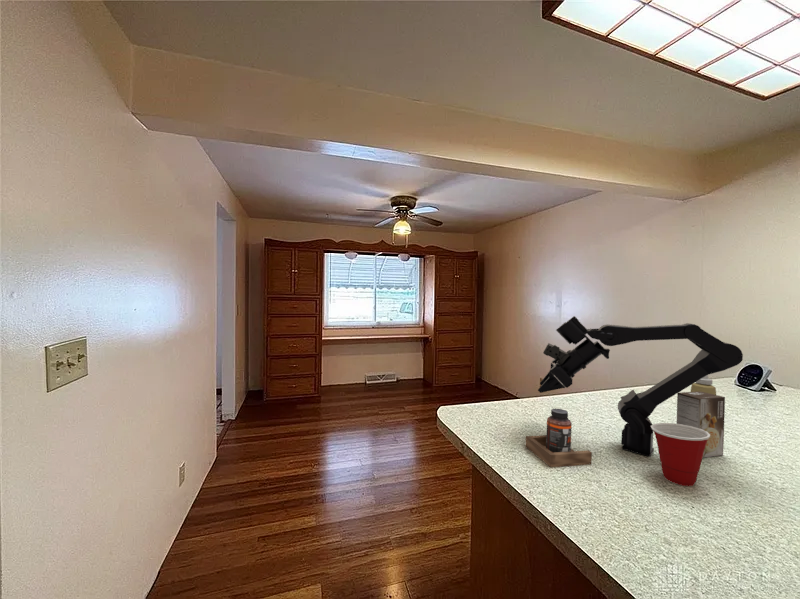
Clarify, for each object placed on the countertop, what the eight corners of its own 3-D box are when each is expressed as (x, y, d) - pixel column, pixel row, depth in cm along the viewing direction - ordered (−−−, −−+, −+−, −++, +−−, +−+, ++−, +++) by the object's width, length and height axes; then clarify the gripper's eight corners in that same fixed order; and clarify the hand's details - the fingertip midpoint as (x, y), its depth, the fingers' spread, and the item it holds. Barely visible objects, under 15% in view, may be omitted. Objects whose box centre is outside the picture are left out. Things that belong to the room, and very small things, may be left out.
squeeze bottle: (723, 423, 120) (726, 371, 120) (700, 422, 120) (702, 370, 120) (703, 415, 128) (705, 366, 128) (681, 414, 128) (683, 366, 128)
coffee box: (698, 445, 100) (700, 390, 100) (724, 455, 94) (726, 397, 94) (674, 448, 98) (676, 392, 98) (699, 458, 92) (701, 398, 92)
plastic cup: (650, 463, 88) (652, 416, 88) (706, 478, 81) (709, 428, 81) (647, 480, 80) (649, 428, 80) (709, 498, 73) (712, 442, 73)
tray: (562, 444, 98) (562, 434, 98) (591, 464, 87) (591, 452, 87) (525, 446, 96) (525, 436, 96) (550, 467, 85) (551, 455, 85)
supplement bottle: (572, 460, 87) (574, 415, 87) (547, 456, 89) (548, 412, 89) (568, 450, 93) (569, 408, 93) (544, 446, 95) (545, 405, 95)
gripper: (560, 332, 113) (524, 362, 118) (560, 338, 96) (517, 373, 101) (587, 359, 110) (548, 388, 115) (591, 370, 93) (545, 404, 98)
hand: (539, 387), depth 107 cm, fingers open, 9 cm apart
